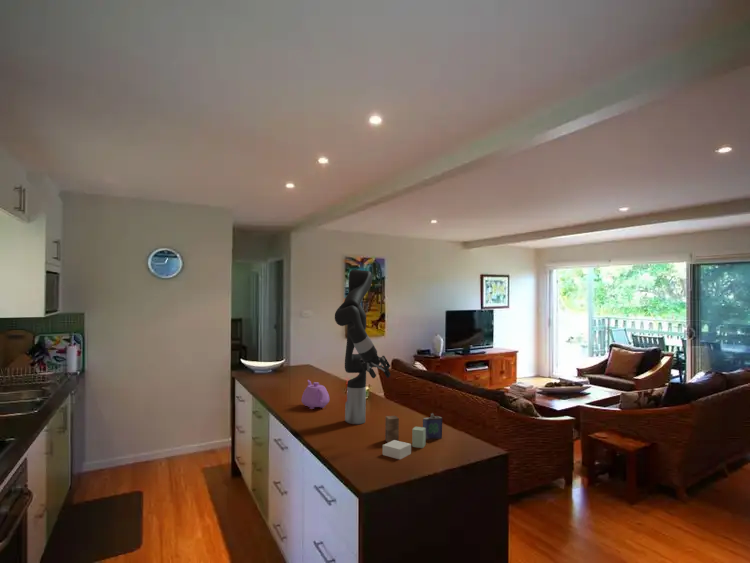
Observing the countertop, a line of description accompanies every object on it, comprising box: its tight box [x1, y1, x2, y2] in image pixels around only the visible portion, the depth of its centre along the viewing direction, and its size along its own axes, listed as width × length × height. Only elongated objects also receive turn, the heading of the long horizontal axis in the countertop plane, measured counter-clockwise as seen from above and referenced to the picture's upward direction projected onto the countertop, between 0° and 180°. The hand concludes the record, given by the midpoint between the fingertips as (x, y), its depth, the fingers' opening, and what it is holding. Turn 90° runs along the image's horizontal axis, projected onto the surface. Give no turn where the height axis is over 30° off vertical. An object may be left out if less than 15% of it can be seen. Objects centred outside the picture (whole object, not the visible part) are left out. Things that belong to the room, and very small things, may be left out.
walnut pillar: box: [384, 415, 400, 443], centre depth 179 cm, size 4×4×10 cm
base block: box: [382, 440, 412, 460], centre depth 164 cm, size 8×8×4 cm
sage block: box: [411, 426, 427, 449], centre depth 174 cm, size 4×4×7 cm
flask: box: [422, 412, 443, 441], centre depth 184 cm, size 9×3×11 cm, turn 109°
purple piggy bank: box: [301, 379, 330, 410], centre depth 237 cm, size 22×16×14 cm
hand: (381, 376), depth 186 cm, fingers open, 8 cm apart
